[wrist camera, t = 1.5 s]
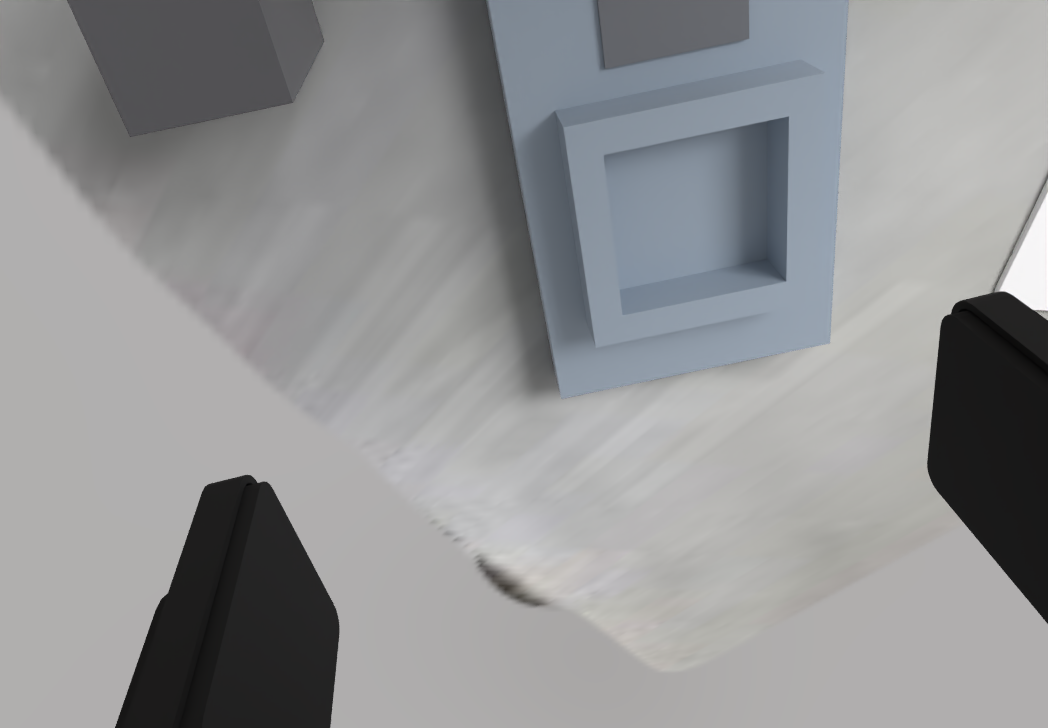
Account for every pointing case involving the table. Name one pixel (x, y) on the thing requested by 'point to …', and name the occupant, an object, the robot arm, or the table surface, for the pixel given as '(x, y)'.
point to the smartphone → (1030, 260)
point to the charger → (198, 56)
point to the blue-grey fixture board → (675, 177)
